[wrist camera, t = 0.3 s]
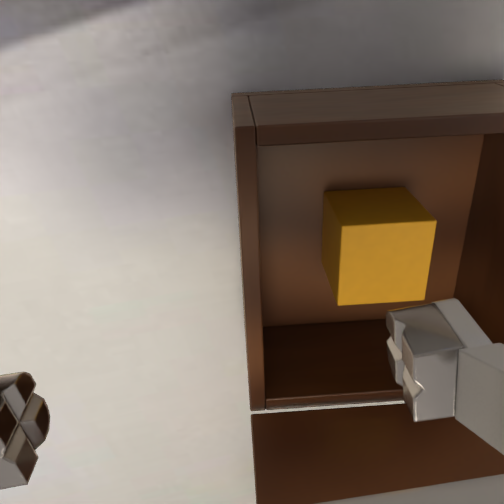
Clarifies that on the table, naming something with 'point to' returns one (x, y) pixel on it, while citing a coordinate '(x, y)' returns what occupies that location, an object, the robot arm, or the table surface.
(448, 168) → the chest
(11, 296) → the table surface
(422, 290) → the block
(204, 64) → the table surface
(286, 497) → the lid
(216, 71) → the table surface
